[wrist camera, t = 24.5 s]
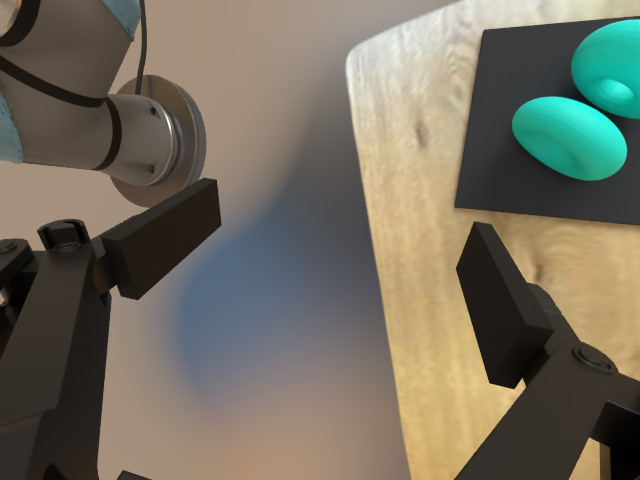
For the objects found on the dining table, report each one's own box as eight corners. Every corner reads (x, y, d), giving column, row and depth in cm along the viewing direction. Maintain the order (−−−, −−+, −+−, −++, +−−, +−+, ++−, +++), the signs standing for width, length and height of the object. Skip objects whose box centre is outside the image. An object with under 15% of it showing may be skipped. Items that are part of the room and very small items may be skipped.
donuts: (663, 109, 29) (770, 63, 20) (573, 190, 32) (628, 182, 23) (573, 53, 31) (632, -14, 22) (496, 133, 34) (519, 105, 25)
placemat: (483, 32, 34) (484, 29, 34) (727, 11, 27) (733, 7, 27) (454, 207, 37) (454, 207, 36) (669, 228, 30) (673, 228, 30)
